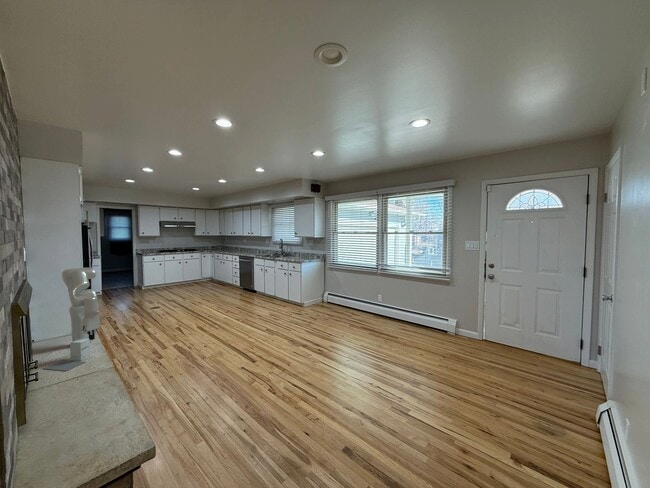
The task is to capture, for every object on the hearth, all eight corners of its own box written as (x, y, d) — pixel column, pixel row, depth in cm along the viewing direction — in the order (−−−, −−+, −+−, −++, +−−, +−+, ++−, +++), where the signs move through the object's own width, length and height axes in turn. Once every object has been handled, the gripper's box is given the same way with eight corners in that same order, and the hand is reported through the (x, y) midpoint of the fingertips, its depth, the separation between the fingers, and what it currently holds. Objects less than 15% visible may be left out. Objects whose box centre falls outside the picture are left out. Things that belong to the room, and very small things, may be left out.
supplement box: (80, 361, 187) (80, 342, 186) (70, 360, 187) (69, 342, 186) (90, 356, 194) (89, 338, 194) (80, 356, 194) (79, 338, 194)
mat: (63, 360, 187) (63, 360, 187) (85, 362, 184) (85, 361, 184) (42, 369, 175) (42, 368, 175) (66, 371, 172) (66, 370, 172)
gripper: (96, 311, 205) (97, 335, 206) (75, 317, 191) (76, 343, 191) (105, 311, 204) (106, 336, 205) (84, 317, 189) (85, 343, 190)
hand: (91, 339), depth 198 cm, fingers closed
